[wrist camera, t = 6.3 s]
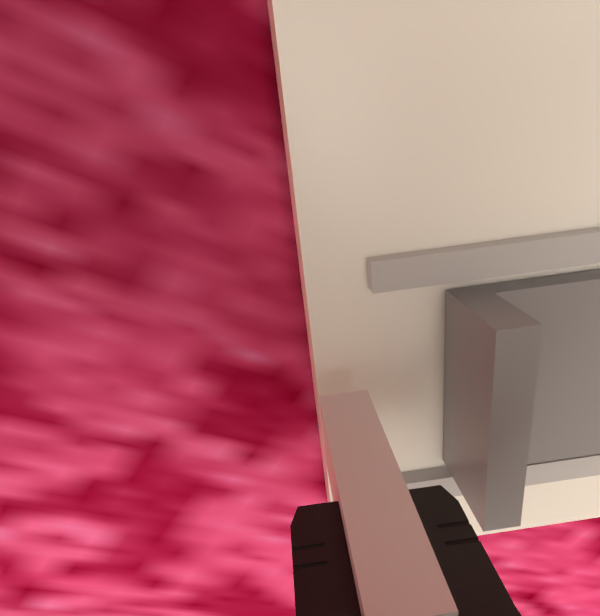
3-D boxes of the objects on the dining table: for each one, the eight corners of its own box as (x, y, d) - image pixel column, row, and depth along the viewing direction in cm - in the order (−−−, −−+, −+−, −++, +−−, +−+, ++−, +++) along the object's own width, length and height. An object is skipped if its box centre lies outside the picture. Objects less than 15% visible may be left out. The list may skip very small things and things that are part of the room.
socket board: (327, 501, 20) (339, 570, 17) (260, -56, 12) (258, -131, 9) (718, 442, 21) (804, 499, 18) (901, -127, 13) (1123, -223, 10)
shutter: (443, 460, 16) (483, 531, 13) (445, 290, 13) (496, 330, 10) (619, 434, 16) (697, 498, 13) (654, 261, 14) (762, 293, 11)
